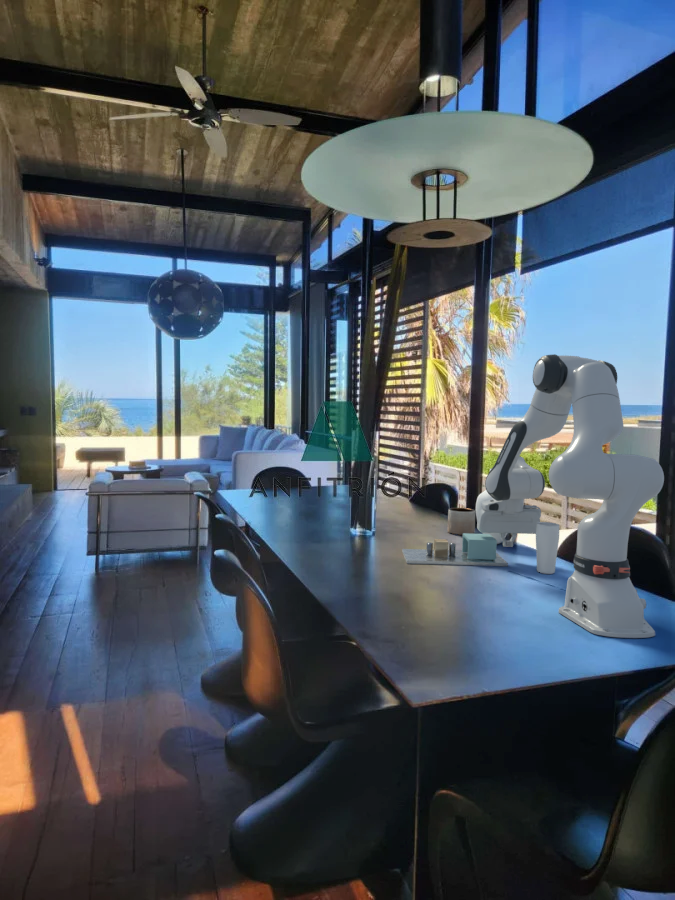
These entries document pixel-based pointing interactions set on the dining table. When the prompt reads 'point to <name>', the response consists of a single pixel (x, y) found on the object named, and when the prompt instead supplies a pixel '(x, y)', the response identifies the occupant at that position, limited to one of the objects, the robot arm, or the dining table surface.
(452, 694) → the dining table surface
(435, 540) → the block
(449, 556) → the base
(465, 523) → the planter
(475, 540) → the cover
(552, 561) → the drinking glass
